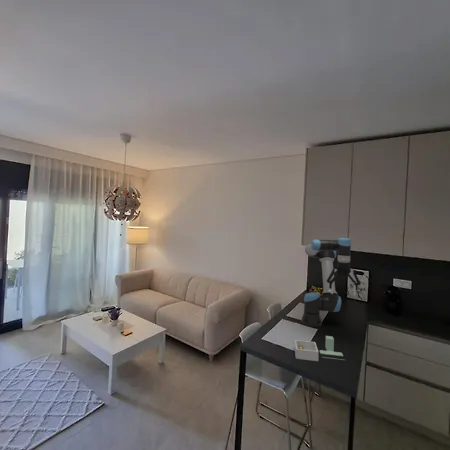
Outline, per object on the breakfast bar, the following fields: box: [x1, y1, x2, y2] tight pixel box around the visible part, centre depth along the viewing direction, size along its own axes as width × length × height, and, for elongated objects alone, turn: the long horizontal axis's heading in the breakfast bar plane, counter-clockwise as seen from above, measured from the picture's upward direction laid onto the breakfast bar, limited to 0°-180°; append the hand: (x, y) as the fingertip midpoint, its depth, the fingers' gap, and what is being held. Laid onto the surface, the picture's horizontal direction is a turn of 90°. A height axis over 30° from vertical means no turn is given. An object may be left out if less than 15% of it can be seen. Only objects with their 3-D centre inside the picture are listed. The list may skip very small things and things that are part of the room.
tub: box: [294, 339, 319, 362], centre depth 147 cm, size 12×12×6 cm
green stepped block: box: [319, 335, 345, 361], centre depth 148 cm, size 18×13×8 cm
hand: (342, 294), depth 165 cm, fingers open, 13 cm apart
